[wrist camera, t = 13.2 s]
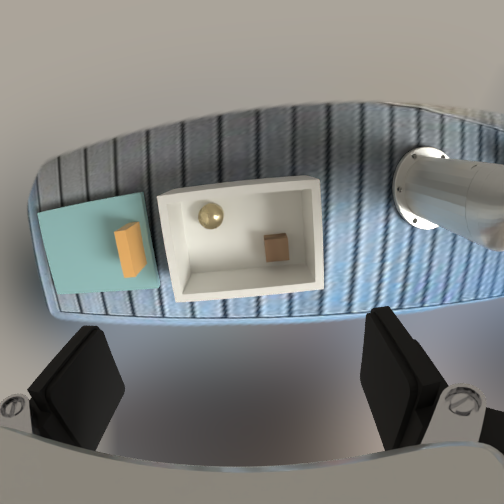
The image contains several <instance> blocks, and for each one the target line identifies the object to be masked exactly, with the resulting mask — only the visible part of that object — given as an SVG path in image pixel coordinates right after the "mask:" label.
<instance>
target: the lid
mask: <svg viewBox="0 0 504 504" xmlns="http://www.w3.org/2000/svg"><path fill="white" fill-rule="evenodd" d="M37 214H38V219H39V224H40V229H41V233H42V238H43V242H44V247H45V251H46V255H47V259H48V262H49V266H50V270H51V273H52V277H53V280H54V284H55V287H56V290H57V293H58V294H73V293H91V292H108V291H124V290H139V289H153V288H159V286H160V280H159V275H158V270H157V266H156V261H155V255H154V250H153V245H152V240H151V234H150V228H149V222H148V216H147V210H146V204H145V197H144V192H138V193H132V194H126V195H120V196H115V197H109V198H104V199H99V200H94V201H89V202H84V203H79V204H74V205H69V206H64V207H60V208H55V209H51V210H47V211H42V212H39V213H37Z"/></svg>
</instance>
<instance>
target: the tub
mask: <svg viewBox="0 0 504 504" xmlns="http://www.w3.org/2000/svg"><path fill="white" fill-rule="evenodd" d="M157 201H158V207H159V214H160V220H161V226H162V233H163V238H164V244H165V250H166V255H167V261H168V266H169V271H170V276H171V281H172V286H173V291H174V296H175V300H176V302H191V301H204V300H217V299H229V298H241V297H252V296H262V295H272V294H282V293H292V292H301V291H310V290H319V289H324V269H323V233H322V210H321V192H320V179H317V178H314V177H311V176H308V175H300V176H286V177H274V178H263V179H252V180H242V181H232V182H223V183H215V184H206V185H198V186H191V187H183V188H176V189H172V190H170V191H168V192H165V193H163V194H161V195H159V196H157ZM208 203H217V204H218V205H220V206H221V207H222V209H223V211H224V218H223V221H222V223H221V225H220V226H219V227H217V228H215V229H206V228H204V227H203V226H202V225H201V224H200V222H199V220H198V214H199V211H200V210H201V209H202V207H203V206H204V205H206V204H208ZM281 233H286V235H287V237H288V246H289V260H286V261H275V262H266V257H265V247H264V236H263V235H270V234H281Z"/></svg>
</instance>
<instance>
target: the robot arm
mask: <svg viewBox="0 0 504 504" xmlns="http://www.w3.org/2000/svg"><path fill="white" fill-rule="evenodd" d="M412 156H413V157H412ZM397 188H398V190H397ZM392 192H393V199H394V202H395V206H396V208H397V210H398V212H399V214H400V215H401V216H402V218H403V219H404V220H405V221H407V222H408V223H409V224H411V225H413V226H414V227H417V228H419V229H425V230H426V229H433V228H436V227H439V226H440V227H442V228H444V229H446V230H449V231H451V232H453V233H455V234H457V235H459V236H462V237H464V238H466V239H468V240H470V241H472V242H474V243H476V244H478V245H481V246H483V247H485V248H487V249H489V250H492V251H504V165H502V164H495V163H487V162H478V161H469V160H459V159H450V158H449V157H448V156H447V155H446V154H445V153H443V152H442V151H440V150H438V149H436V148H432V147H419V148H415V149H413V150H411V151H409V152H408V153H407V154H406V155H404V157H403V158H402V159H401V160H400V162H399V164H398V165H397V167H396V170H395V173H394V177H393V183H392ZM360 381H361V385H362V387H363V390H364V393H365V395H366V398H367V401H368V404H369V406H370V409H371V412H372V415H373V418H374V420H375V423H376V426H377V429H378V432H379V435H380V438H381V440H382V443H383V446H384V449H385V451H383V452H377V453H372V454H368V455H362V456H357V457H350V458H344V459H337V460H330V461H322V462H314V463H304V464H295V465H280V466H260V467H215V466H195V465H194V466H193V465H181V464H171V463H162V462H154V461H146V460H139V459H133V458H127V457H121V456H116V455H110V454H106V453H101V452H97V451H96V449H97V446H98V444H99V442H100V440H101V438H102V436H103V434H104V432H105V430H106V428H107V426H108V424H109V422H110V420H111V418H112V416H113V414H114V412H115V410H116V408H117V406H118V404H119V402H120V400H121V398H122V396H123V395H124V392H125V386H124V383H123V381H122V378H121V376H120V374H119V371H118V369H117V366H116V364H115V361H114V359H113V356H112V354H111V351H110V348H109V346H108V343H107V341H106V338H105V335H104V332H103V331H102V330H100V329H99V327H97V326H83V327H81V329H80V330H79V331H78V332H77V333H76V334H75V335H74V336H73V337H72V338H71V339H70V341H69V342H68V343H67V344H66V345H65V346H64V347H63V348H62V350H61V351H60V352H59V353H58V354H57V355H56V356H55V357H54V359H53V360H52V361H51V362H50V363H49V364H48V366H47V367H46V368H45V369H44V370H43V372H42V373H41V374H40V375H39V376H38V377H37V379H36V380H35V381H34V382H33V383H32V385H31V386H30V387H29V388H28V389H27V390H28V392H29V393H30V395H31V397H32V398H31V399H30V400H29V399H28V397H27V396H26V395H23V394H14V395H11V396H8V397H7V398H5V399H4V400H3V401H2V402H1V403H0V504H504V412H502V411H498V410H494V409H490V408H487V407H486V398H485V396H484V394H483V393H482V392H481V391H480V389H478V388H477V387H475V386H473V385H470V384H464V383H459V384H453V385H451V386H448V384H447V383H446V381H445V380H444V378H443V377H442V376H441V374H440V372H439V371H438V370H437V368H436V367H435V365H434V364H433V362H432V361H431V359H430V358H429V357H428V355H427V354H426V352H425V351H424V350H423V348H422V347H421V345H420V344H419V343H418V342H417V341H416V340H414V339H412V337H411V336H410V334H409V333H408V332H407V330H406V329H405V327H404V326H403V325H402V323H401V322H400V321H399V319H398V318H397V316H396V315H395V314H394V312H393V311H392V310H391V308H390V307H389V306H385V307H378V308H373V309H372V310H371V313H367V315H366V322H365V334H364V345H363V354H362V363H361V372H360Z"/></svg>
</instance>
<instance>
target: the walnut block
mask: <svg viewBox="0 0 504 504" xmlns="http://www.w3.org/2000/svg"><path fill="white" fill-rule="evenodd" d="M263 236H264V247H265V257H266V262H275V261H286V260H289V246H288V237H287V235H286V233H281V234H270V235H263Z"/></svg>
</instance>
